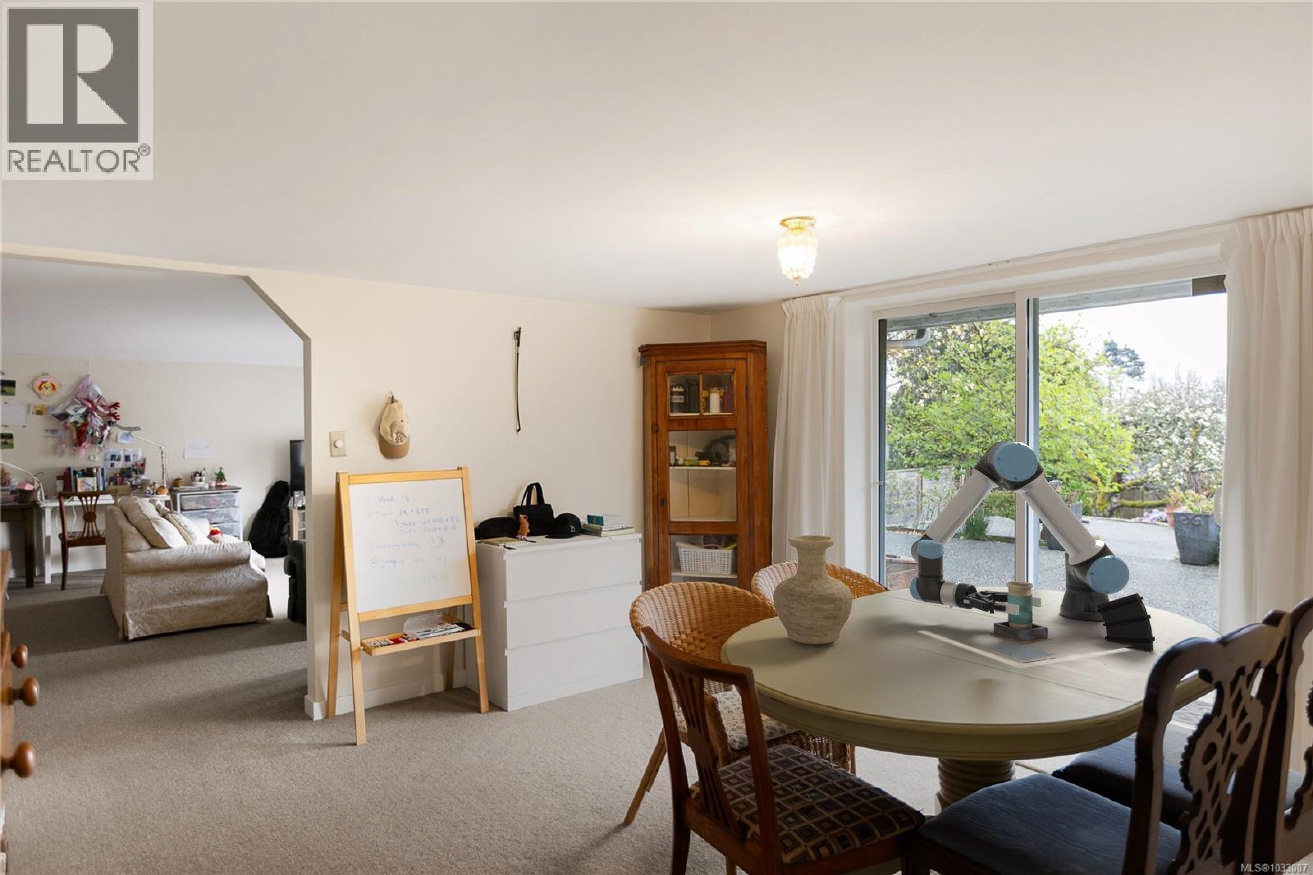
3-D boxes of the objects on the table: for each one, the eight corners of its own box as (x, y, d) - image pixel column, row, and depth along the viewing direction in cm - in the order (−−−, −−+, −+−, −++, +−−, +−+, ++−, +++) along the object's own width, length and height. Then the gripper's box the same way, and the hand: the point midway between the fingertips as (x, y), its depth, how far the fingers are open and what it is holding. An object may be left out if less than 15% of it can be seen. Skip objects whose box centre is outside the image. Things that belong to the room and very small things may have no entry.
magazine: (1162, 648, 206) (1135, 594, 211) (1114, 660, 216) (1088, 608, 221) (1167, 646, 209) (1140, 592, 214) (1119, 657, 218) (1094, 605, 223)
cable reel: (1020, 631, 229) (1019, 580, 229) (1039, 637, 222) (1038, 584, 222) (1002, 634, 226) (1001, 582, 226) (1020, 639, 220) (1019, 586, 220)
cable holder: (1020, 632, 232) (1020, 618, 232) (1053, 642, 221) (1053, 627, 221) (988, 636, 228) (988, 622, 228) (1020, 646, 217) (1020, 632, 217)
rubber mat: (1023, 647, 216) (1023, 644, 216) (1056, 658, 205) (1055, 654, 205) (991, 652, 212) (991, 648, 212) (1023, 663, 202) (1023, 659, 202)
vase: (781, 629, 241) (779, 532, 240) (856, 634, 233) (854, 534, 233) (767, 649, 220) (765, 542, 219) (848, 655, 212) (846, 544, 212)
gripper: (980, 601, 246) (1049, 612, 230) (937, 614, 230) (1008, 627, 214) (980, 577, 246) (1049, 586, 230) (937, 588, 230) (1008, 599, 214)
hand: (1029, 606), depth 222 cm, fingers open, 13 cm apart
